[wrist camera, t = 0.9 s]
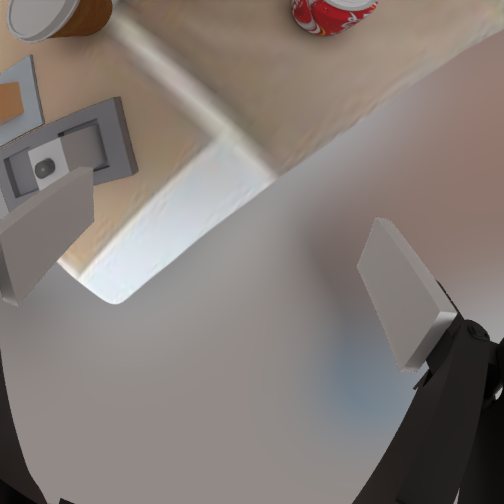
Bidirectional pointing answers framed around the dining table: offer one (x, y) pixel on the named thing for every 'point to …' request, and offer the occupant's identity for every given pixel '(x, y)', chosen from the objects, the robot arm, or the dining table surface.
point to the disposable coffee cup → (56, 18)
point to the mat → (30, 101)
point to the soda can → (330, 14)
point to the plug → (10, 102)
